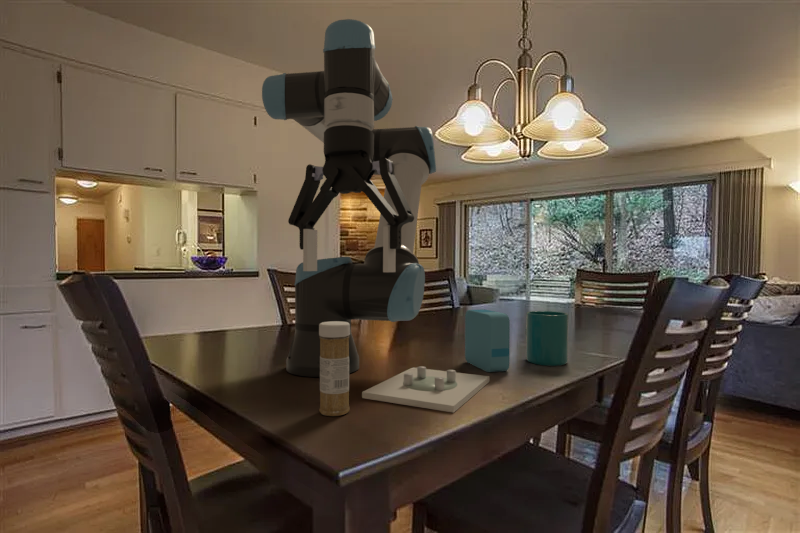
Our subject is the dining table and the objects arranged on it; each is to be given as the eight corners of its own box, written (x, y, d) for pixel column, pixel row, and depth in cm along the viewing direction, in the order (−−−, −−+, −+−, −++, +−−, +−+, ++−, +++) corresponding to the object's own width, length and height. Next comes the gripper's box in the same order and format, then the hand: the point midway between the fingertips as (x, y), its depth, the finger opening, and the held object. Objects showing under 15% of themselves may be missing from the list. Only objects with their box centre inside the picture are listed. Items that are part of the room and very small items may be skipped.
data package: (509, 372, 93) (510, 314, 93) (490, 374, 92) (490, 315, 91) (482, 360, 104) (482, 308, 104) (464, 361, 103) (464, 309, 103)
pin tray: (362, 397, 75) (362, 379, 75) (412, 372, 92) (412, 357, 92) (453, 412, 67) (454, 392, 67) (489, 381, 85) (489, 365, 85)
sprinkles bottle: (345, 406, 70) (346, 320, 70) (352, 415, 66) (353, 323, 66) (316, 409, 69) (316, 321, 69) (321, 419, 64) (322, 325, 64)
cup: (542, 354, 111) (542, 309, 111) (576, 365, 100) (577, 314, 100) (511, 357, 108) (511, 310, 108) (542, 368, 97) (543, 315, 97)
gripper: (265, 132, 69) (265, 270, 69) (417, 112, 59) (416, 273, 60) (295, 144, 76) (294, 270, 76) (435, 128, 66) (434, 272, 66)
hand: (348, 271), depth 68 cm, fingers open, 13 cm apart
